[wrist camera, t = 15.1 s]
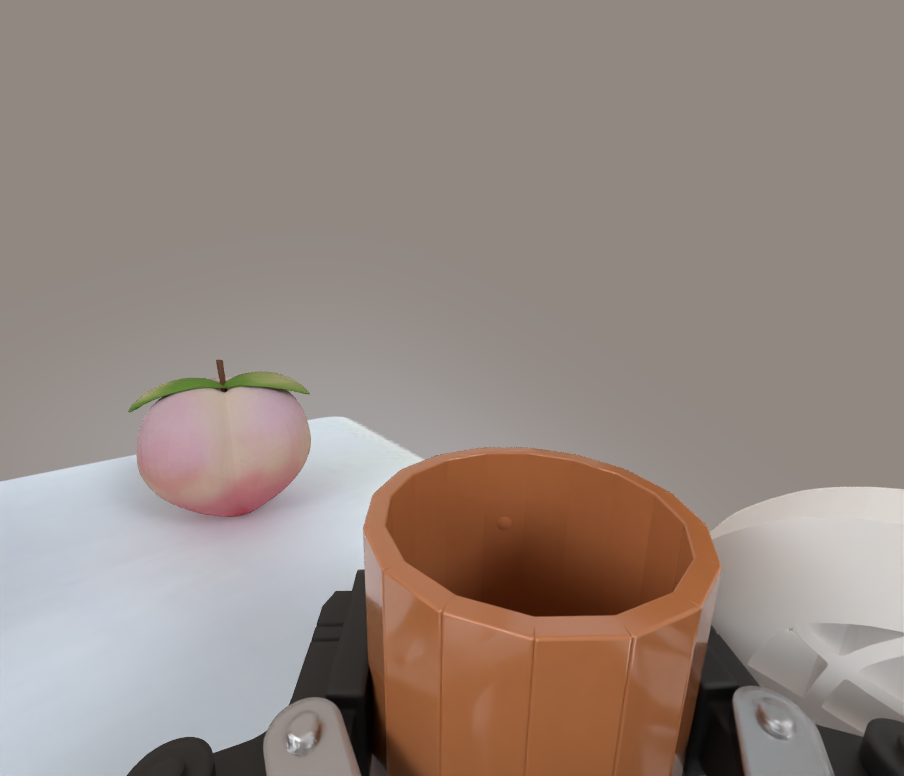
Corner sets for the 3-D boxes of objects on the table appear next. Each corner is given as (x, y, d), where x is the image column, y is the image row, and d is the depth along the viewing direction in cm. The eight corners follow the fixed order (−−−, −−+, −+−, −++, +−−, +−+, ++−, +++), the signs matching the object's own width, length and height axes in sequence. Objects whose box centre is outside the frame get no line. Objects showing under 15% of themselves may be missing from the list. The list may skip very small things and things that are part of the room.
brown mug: (702, 1089, 8) (829, 634, 5) (360, 1109, 8) (329, 642, 5) (561, 660, 17) (584, 412, 14) (399, 663, 17) (395, 412, 14)
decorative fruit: (300, 472, 33) (290, 343, 31) (327, 525, 27) (317, 364, 24) (154, 501, 29) (128, 353, 26) (141, 573, 22) (105, 382, 20)
